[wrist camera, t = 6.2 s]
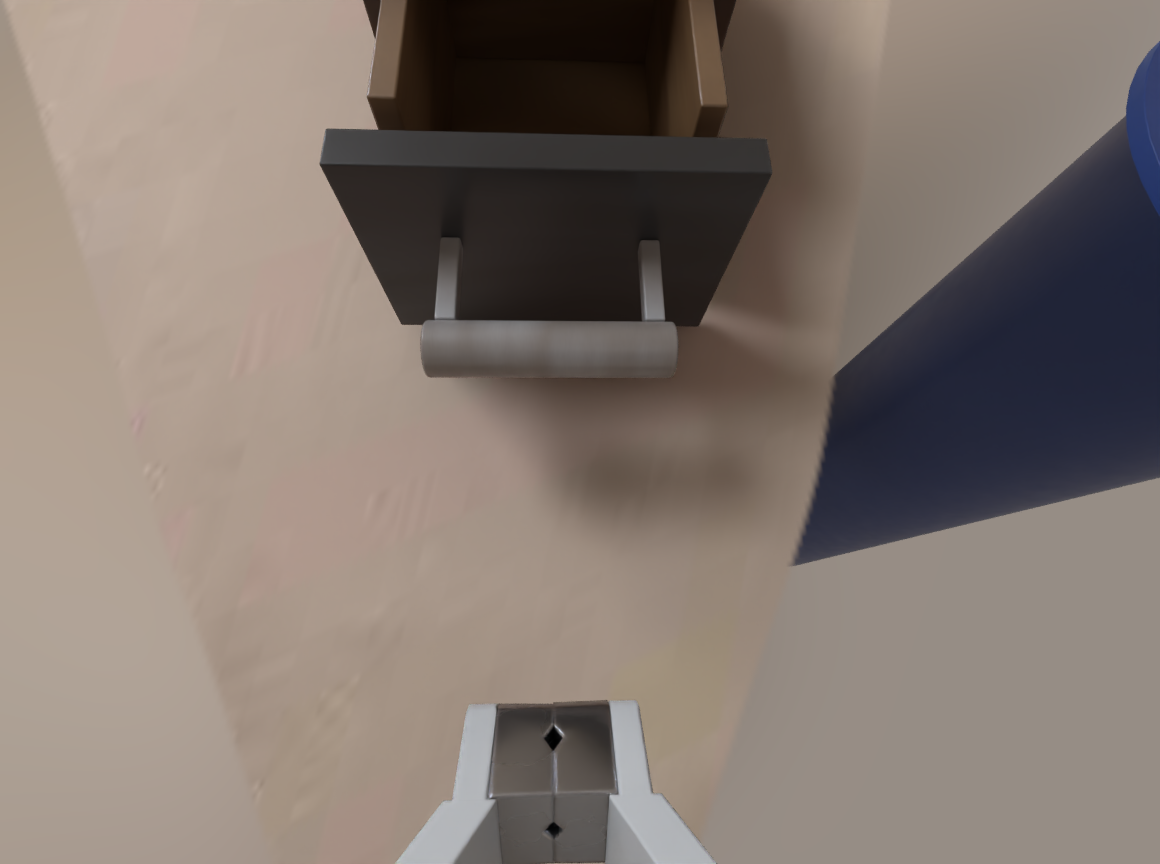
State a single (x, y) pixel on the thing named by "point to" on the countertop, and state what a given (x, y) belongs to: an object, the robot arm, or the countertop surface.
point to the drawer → (547, 181)
